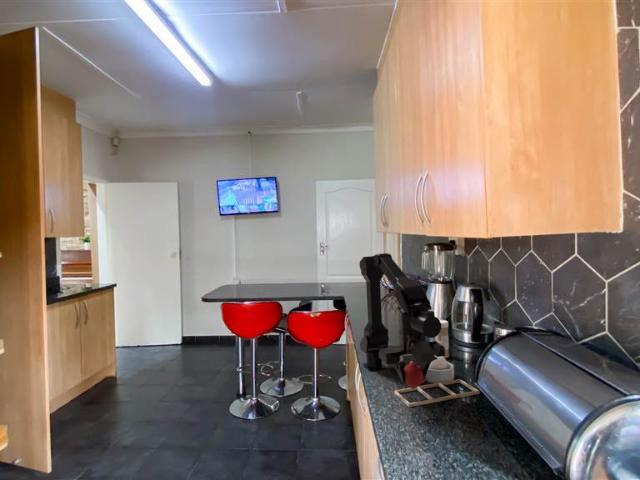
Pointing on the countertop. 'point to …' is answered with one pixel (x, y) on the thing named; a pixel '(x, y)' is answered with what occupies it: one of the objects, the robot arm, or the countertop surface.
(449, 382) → the wooden frame with crossbars
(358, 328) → the countertop surface
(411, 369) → the onion
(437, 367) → the dome
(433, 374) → the dome base
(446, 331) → the sprinkles bottle
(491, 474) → the countertop surface
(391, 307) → the countertop surface
